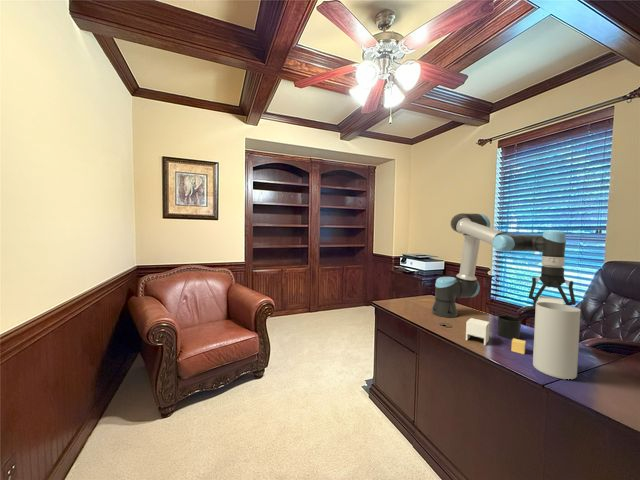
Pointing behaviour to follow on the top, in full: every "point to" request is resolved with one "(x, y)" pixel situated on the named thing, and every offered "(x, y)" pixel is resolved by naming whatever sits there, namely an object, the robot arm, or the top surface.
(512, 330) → the mug
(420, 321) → the top surface
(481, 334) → the cover
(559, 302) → the cover
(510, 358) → the top surface
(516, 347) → the block
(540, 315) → the cylinder vase
